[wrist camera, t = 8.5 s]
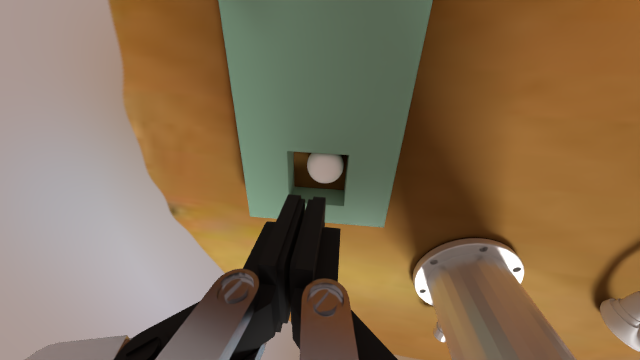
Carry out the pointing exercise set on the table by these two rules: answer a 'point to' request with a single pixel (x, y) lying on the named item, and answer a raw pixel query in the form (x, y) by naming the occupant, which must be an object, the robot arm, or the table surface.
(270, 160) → the green board
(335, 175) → the ball
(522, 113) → the table surface
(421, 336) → the table surface
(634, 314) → the headphones
